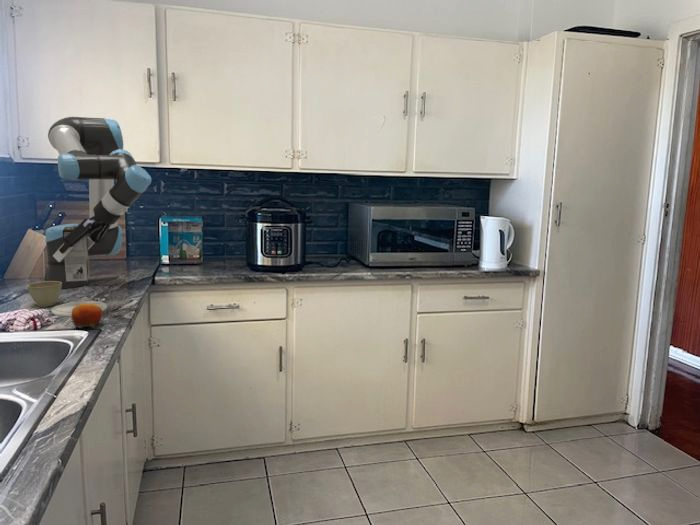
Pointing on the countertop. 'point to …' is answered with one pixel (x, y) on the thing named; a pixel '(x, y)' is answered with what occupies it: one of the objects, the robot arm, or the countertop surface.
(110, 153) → the robot arm
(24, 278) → the countertop surface
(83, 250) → the coffee box
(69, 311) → the plate
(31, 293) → the flower pot
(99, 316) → the fruit
